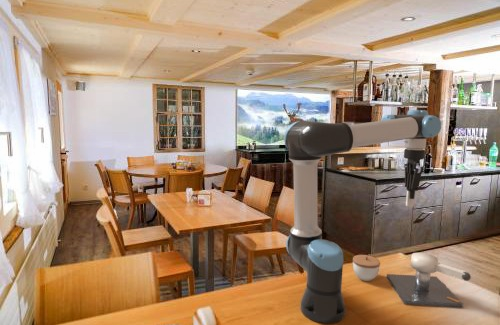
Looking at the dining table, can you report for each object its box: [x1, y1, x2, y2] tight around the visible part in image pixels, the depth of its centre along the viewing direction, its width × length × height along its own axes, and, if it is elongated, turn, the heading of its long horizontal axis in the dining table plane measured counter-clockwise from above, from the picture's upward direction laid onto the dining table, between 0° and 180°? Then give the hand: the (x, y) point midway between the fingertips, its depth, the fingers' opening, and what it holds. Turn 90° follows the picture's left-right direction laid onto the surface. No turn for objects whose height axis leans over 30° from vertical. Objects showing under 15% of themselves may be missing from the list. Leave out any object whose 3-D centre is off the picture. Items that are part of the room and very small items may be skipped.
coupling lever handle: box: [410, 252, 472, 282], centre depth 124 cm, size 20×9×4 cm, turn 41°
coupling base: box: [386, 270, 464, 308], centre depth 129 cm, size 20×20×10 cm
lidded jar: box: [352, 254, 381, 282], centre depth 140 cm, size 11×11×9 cm
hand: (409, 205), depth 139 cm, fingers closed
